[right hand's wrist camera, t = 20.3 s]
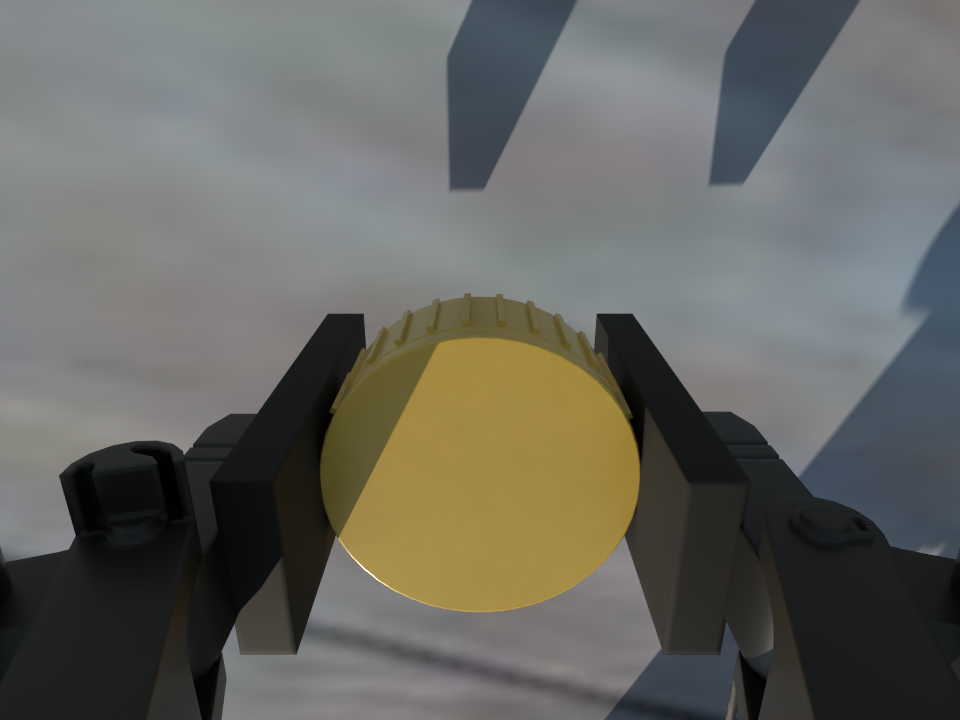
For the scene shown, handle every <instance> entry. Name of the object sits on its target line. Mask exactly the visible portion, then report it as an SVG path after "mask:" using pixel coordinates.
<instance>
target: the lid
mask: <svg viewBox="0 0 960 720" xmlns="http://www.w3.org/2000/svg"><path fill="white" fill-rule="evenodd" d="M330 413H332V414H334V415H333V417H332V420H331V422H330V425H329V427H328V429H327V431H326V433H325V436H324V442H323V446H322V450H321V455H320V480H321V490H322V499H323V504H324V508H325V511H326V514H327V516H328V519H329V521H330V524H331V526H332V528H333V530H334V532H335V533H336V535H337V537H338V539H339V541H340V542H341V543H342V545H343V546H344V548H345V549H346V550H347V552H348V553H349V554H350V556H351V557H352V558H353V559H354V560H355V561H356V562H357V563H358V564H359V565H360V566H361V567H362V568H363V569H364V570H365V571H367V572H368V573H369V574H370V575H372V576H373V577H374V578H375V579H377V580H378V581H380V582H381V583H383V584H384V585H386V586H387V587H389V588H391V589H392V590H394V591H396V592H398V593H400V594H402V595H404V596H406V597H409V598H411V599H414V600H416V601H419V602H422V603H425V604H428V605H432V606H436V607H440V608H444V609H450V610H458V611H466V612H492V611H504V610H510V609H515V608H521V607H525V606H529V605H532V604H535V603H539V602H542V601H544V600H547V599H549V598H552V597H554V596H556V595H559V594H561V593H562V592H564V591H566V590H568V589H570V588H572V587H573V586H575V585H577V584H578V583H579V582H581V581H582V580H584V579H585V578H586V577H588V576H589V575H591V574H592V573H593V572H594V571H595V570H596V569H597V568H598V567H599V566H600V565H602V564H603V563H604V562H605V560H606V559H607V558H608V557H609V556H610V555H611V553H612V552H613V551H614V550H615V549H616V547H617V546H618V544H619V543H620V541H621V540H622V538H623V536H624V535H625V533H626V531H627V529H628V527H629V525H630V523H631V520H632V518H633V516H634V512H635V509H636V506H637V502H638V494H639V485H640V475H641V460H640V453H639V447H638V443H637V440H636V437H635V434H634V430H633V427H632V425H631V423H630V421H629V420H630V419H633V415H632V413H631V411H630V409H629V407H628V405H627V402H626V400H625V398H624V396H623V394H622V392H621V390H620V388H619V386H618V384H617V382H616V380H615V378H614V377H613V375H612V373H611V371H610V369H609V367H608V365H607V362H606V360H605V358H604V356H603V355H602V353H599V354H598V355H596V353H595V352H594V350H593V349H592V347H591V346H590V344H589V341H588V339H587V337H586V335H585V333H583V332H582V331H580V332H579V333H577V332H576V331H575V330H573V329H572V328H571V327H570V326H568V325H567V324H566V323H564V321H563V318H562V316H561V315H559V314H558V313H556V315H555V316H553V315H551V314H550V313H547V312H545V311H543V310H541V309H538V308H536V307H535V306H534V302H531V301H527V304H524V303H521V302H517V301H514V300H508V299H503V295H502V294H496V298H495V297H471V294H470V293H468V294H464V298H458V299H452V300H448V301H443V302H440V300H439V299H435V300H433V303H432V305H430V306H427V307H425V308H422V309H419V310H417V311H415V312H414V313H411V312H410V310H408V311H406V312H404V315H403V318H402V319H401V320H399V321H398V322H397V323H395V324H394V325H392V326H391V327H389V328H388V329H386V328H385V327H383V328H382V329H380V330H379V333H378V335H377V337H376V340H375V341H374V342H373V344H372V345H371V346H370V347H369V349H368V350H366V349H364V348H363V349H362V350H361V351H360V353H359V355H358V357H357V359H356V361H355V364H354V366H353V368H352V370H351V372H348V374H347V376H346V378H345V380H344V382H343V384H342V386H341V388H340V391H339V393H338V395H337V397H336V399H335V401H334V403H333V405H332V407H331V409H330Z"/></svg>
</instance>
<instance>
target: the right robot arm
mask: <svg viewBox="0 0 960 720" xmlns="http://www.w3.org/2000/svg"><path fill="white" fill-rule="evenodd" d="M363 348H364V349H366V341H365V327H364V314H328V315H327V316H326V318H325V319H324V320H323V322H322V323H321V325H320V326H319V327H318V329H317V330H316V332H315V333H314V334H313V336H312V337H311V339H310V340H309V341H308V343H307V344H306V346H305V347H304V349H303V350H302V351H301V353H300V354H299V356H298V357H297V358H296V360H295V361H294V363H293V364H292V365H291V367H290V368H289V370H288V371H287V373H286V374H285V375H284V377H283V378H282V380H281V381H280V382H279V384H278V385H277V387H276V388H275V389H274V391H273V392H272V394H271V395H270V396H269V398H268V399H267V401H266V402H265V404H264V405H263V406H262V408H261V409H260V411H259V412H258V413H257V414H229V415H228V416H226V417H224V418H223V419H221V420H219V421H218V422H216V423H214V424H213V425H211V426H209V427H208V428H206V430H205V431H204V432H203V433H202V434H201V436H200V437H199V438H198V439H197V440H196V442H195V443H194V444H193V448H190V449H189V450H188V451H187V452H186V454H185V455H183V451H182V450H181V449H179V448H178V447H177V446H175V445H174V444H171V443H166V442H161V441H134V442H129V443H124V444H119V445H113V446H110V447H107V448H104V449H101V450H99V451H96V452H93V453H90V454H88V455H86V456H85V457H83V458H81V459H79V460H77V461H76V462H74V463H72V464H71V465H70V466H69V467H68V468H67V469H66V470H64V471H63V472H62V473H61V474H60V475H59V477H60V481H61V484H62V488H63V492H64V495H65V499H66V502H67V506H68V509H69V513H70V516H71V520H72V524H73V527H74V531H75V534H76V537H75V539H74V541H73V543H72V545H71V546H70V548H69V550H65V551H61V552H57V553H52V554H46V555H41V556H36V557H31V558H26V559H21V560H15V561H10V562H5V560H4V557H3V554H2V551H1V548H0V720H221V718H222V710H223V702H224V694H225V687H226V672H225V665H224V660H223V655H222V649H223V647H224V645H225V643H226V641H227V638H228V636H229V634H230V632H231V630H232V628H233V626H234V623H235V627H236V633H237V639H238V644H239V650H240V655H296V654H297V651H298V648H299V645H300V642H301V639H302V636H303V633H304V630H305V627H306V624H307V621H308V618H309V615H310V612H311V609H312V606H313V603H314V600H315V597H316V594H317V591H318V588H319V585H320V582H321V579H322V576H323V573H324V570H325V567H326V564H327V561H328V558H329V554H330V551H331V548H332V545H333V542H334V539H335V536H336V533H335V532H334V530H333V528H332V526H331V524H330V521H329V519H328V516H327V514H326V511H325V508H324V504H323V499H322V490H321V480H320V455H321V450H322V446H323V442H324V436H325V433H326V431H327V429H328V427H329V425H330V422H331V420H332V417H333V415H334V414H332V413H330V409H331V407H332V405H333V403H334V401H335V399H336V397H337V395H338V393H339V391H340V388H341V386H342V384H343V382H344V380H345V378H346V376H347V374H348V372H351V370H352V368H353V366H354V364H355V361H356V359H357V357H358V355H359V353H360V351H361V350H362V349H363ZM594 352H595V353H596V355H598V354H599V353H602V355H603V356H604V358H605V360H606V362H607V365H608V367H609V369H610V371H611V373H612V375H613V377H614V378H615V380H616V382H617V384H618V386H619V388H620V390H621V392H622V394H623V396H624V398H625V400H626V402H627V405H628V407H629V409H630V411H631V413H632V415H633V419H630V420H629V421H630V423H631V425H632V427H633V430H634V434H635V437H636V440H637V443H638V447H639V453H640V460H641V475H640V485H639V494H638V502H637V506H636V509H635V512H634V516H633V518H632V520H631V523H630V525H629V527H628V529H627V531H626V533H625V538H626V541H627V544H628V547H629V550H630V553H631V556H632V559H633V562H634V565H635V568H636V571H637V574H638V577H639V580H640V583H641V587H642V590H643V593H644V596H645V599H646V602H647V605H648V608H649V611H650V614H651V617H652V620H653V623H654V626H655V629H656V632H657V635H658V638H659V641H660V644H661V647H662V650H663V653H664V655H720V652H721V646H722V641H723V635H724V630H725V624H726V621H727V623H728V626H729V628H730V630H731V632H732V634H733V636H734V638H735V640H736V643H737V645H738V647H739V650H738V655H737V660H736V665H735V670H734V676H733V681H732V686H731V691H730V696H729V701H728V706H727V713H726V720H735V717H736V712H737V709H738V717H739V720H960V550H959V553H958V556H957V559H956V560H955V559H950V558H945V557H940V556H935V555H929V554H924V553H919V552H914V551H909V550H903V549H899V548H895V547H891V546H890V545H889V543H888V541H887V539H886V537H885V536H884V534H883V533H882V532H881V531H880V529H879V528H878V527H877V526H876V525H875V523H874V522H873V521H871V520H870V519H868V518H867V517H865V516H863V515H862V514H860V513H859V512H857V511H856V510H854V509H851V508H849V507H846V506H844V505H842V504H839V503H837V502H834V501H830V500H825V499H821V498H816V497H813V495H812V494H811V493H810V492H809V491H808V490H807V488H806V487H805V486H804V485H803V484H802V482H801V481H800V480H799V479H798V478H797V476H796V475H795V474H794V473H793V472H792V470H791V469H790V468H789V467H788V466H787V464H786V463H785V462H784V461H783V460H782V459H779V455H778V454H777V453H776V451H775V450H774V449H773V448H772V447H771V445H768V442H767V441H766V439H765V438H764V437H763V436H762V435H761V434H760V432H759V431H758V430H757V429H756V428H755V426H754V425H752V424H750V423H748V422H747V421H745V420H743V419H742V418H740V417H738V416H737V415H735V414H733V413H732V412H702V411H701V410H700V409H699V407H698V406H697V404H696V403H695V401H694V400H693V399H692V397H691V396H690V394H689V393H688V392H687V390H686V389H685V387H684V386H683V385H682V383H681V382H680V380H679V379H678V378H677V376H676V375H675V373H674V372H673V370H672V369H671V368H670V366H669V365H668V363H667V362H666V361H665V359H664V358H663V356H662V355H661V354H660V352H659V351H658V349H657V348H656V347H655V345H654V344H653V342H652V341H651V339H650V338H649V337H648V335H647V334H646V332H645V331H644V330H643V328H642V327H641V325H640V324H639V323H638V321H637V320H636V318H635V317H634V316H633V314H597V318H596V332H595V347H594Z"/></svg>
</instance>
